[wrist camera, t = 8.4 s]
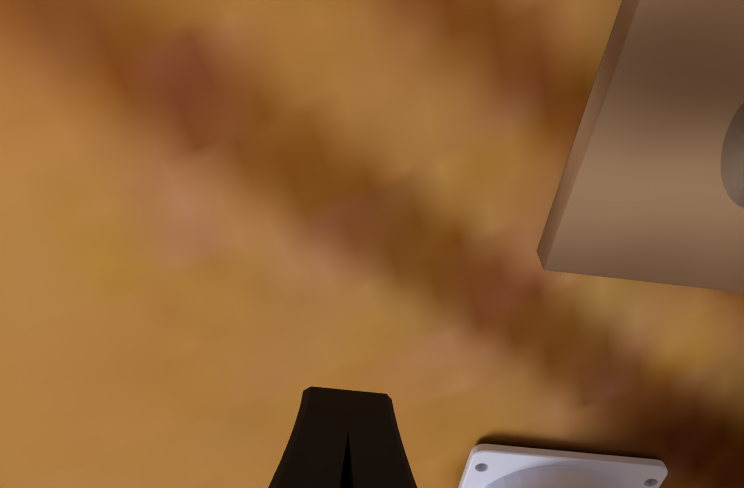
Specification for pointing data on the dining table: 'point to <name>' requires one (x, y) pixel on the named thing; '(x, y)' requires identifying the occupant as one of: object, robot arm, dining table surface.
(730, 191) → the pipe
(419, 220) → the dining table surface
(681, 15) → the pipe board
